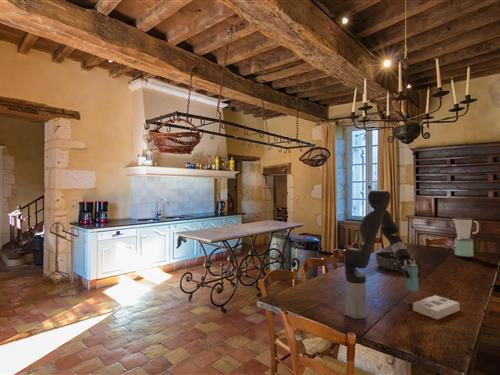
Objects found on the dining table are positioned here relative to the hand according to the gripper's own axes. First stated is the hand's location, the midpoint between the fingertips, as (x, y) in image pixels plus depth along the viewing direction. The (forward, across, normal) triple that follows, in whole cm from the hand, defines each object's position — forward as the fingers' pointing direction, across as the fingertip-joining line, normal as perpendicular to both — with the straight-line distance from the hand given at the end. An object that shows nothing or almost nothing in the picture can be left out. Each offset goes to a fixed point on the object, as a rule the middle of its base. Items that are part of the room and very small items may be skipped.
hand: (413, 277), depth 164 cm
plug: (+4, 0, +6) cm, 7 cm away
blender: (-50, +105, +70) cm, 136 cm away
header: (+19, +3, 0) cm, 19 cm away
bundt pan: (-35, +26, +54) cm, 70 cm away
